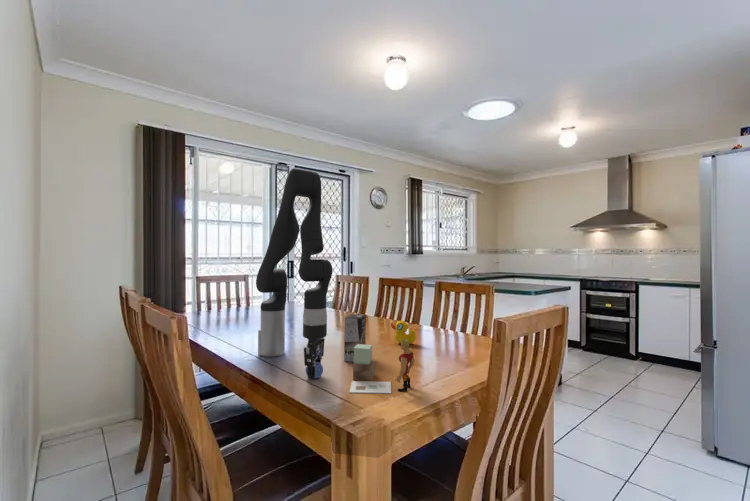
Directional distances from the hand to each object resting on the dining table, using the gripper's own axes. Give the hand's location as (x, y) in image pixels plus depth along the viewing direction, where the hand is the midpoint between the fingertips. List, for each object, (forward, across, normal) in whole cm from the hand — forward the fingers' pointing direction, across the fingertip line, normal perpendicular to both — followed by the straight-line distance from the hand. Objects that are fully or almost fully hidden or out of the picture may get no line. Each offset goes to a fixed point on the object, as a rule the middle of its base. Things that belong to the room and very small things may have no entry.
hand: (314, 374), depth 124 cm
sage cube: (-4, -4, +15) cm, 16 cm away
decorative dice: (+1, 0, 0) cm, 1 cm away
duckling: (+1, -50, +24) cm, 55 cm away
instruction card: (+1, +5, +19) cm, 20 cm away
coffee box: (+1, -24, +8) cm, 25 cm away
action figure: (+1, +4, +29) cm, 30 cm away
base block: (+1, -4, +15) cm, 16 cm away
